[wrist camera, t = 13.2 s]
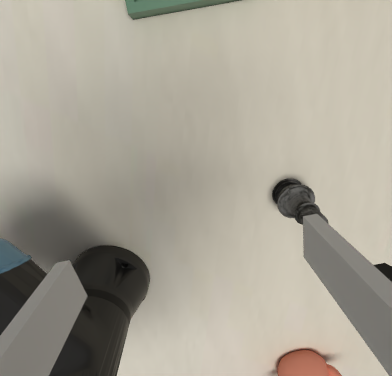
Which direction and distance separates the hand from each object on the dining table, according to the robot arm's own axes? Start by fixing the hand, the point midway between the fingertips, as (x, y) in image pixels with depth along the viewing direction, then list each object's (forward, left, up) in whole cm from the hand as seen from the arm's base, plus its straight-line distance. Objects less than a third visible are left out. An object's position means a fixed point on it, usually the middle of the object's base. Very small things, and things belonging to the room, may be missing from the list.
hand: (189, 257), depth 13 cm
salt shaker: (+15, -10, -26) cm, 32 cm away
